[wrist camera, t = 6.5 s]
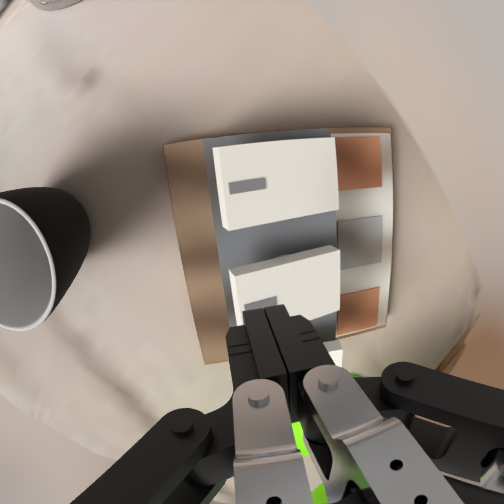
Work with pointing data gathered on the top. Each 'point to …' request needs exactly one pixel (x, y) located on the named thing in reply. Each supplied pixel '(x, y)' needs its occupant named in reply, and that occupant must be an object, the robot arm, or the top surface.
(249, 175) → the switch near
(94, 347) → the top surface
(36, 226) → the mug
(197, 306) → the switch unit
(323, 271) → the switch middle
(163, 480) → the robot arm
